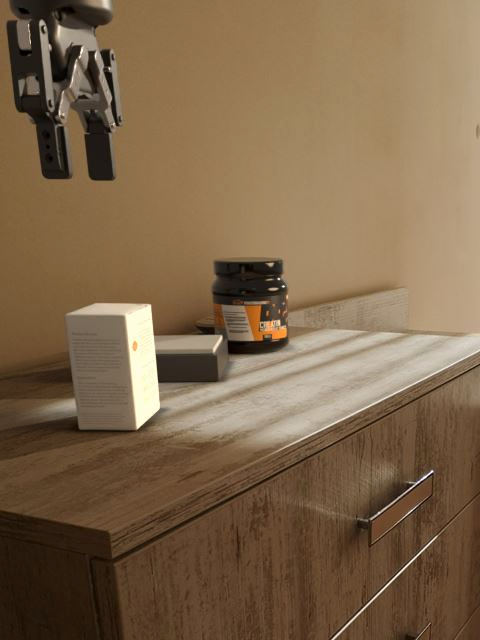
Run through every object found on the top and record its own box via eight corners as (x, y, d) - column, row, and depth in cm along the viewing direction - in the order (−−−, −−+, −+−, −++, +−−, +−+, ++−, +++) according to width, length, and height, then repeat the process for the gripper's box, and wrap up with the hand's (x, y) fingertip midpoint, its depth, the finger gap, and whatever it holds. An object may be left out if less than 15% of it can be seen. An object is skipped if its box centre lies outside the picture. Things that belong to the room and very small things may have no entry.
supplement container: (230, 357, 109) (225, 263, 105) (204, 345, 117) (198, 258, 113) (302, 350, 114) (300, 260, 110) (272, 339, 122) (269, 255, 118)
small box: (106, 409, 82) (94, 302, 79) (161, 409, 82) (151, 302, 78) (76, 430, 75) (61, 313, 71) (137, 431, 75) (125, 313, 71)
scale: (84, 383, 94) (80, 351, 92) (108, 363, 105) (105, 334, 104) (218, 381, 95) (216, 350, 94) (228, 361, 106) (226, 333, 105)
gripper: (51, -27, 68) (75, 181, 74) (-47, -81, 55) (-9, 178, 61) (138, -29, 68) (156, 181, 73) (60, -84, 54) (89, 178, 60)
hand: (81, 180), depth 67 cm, fingers open, 8 cm apart
